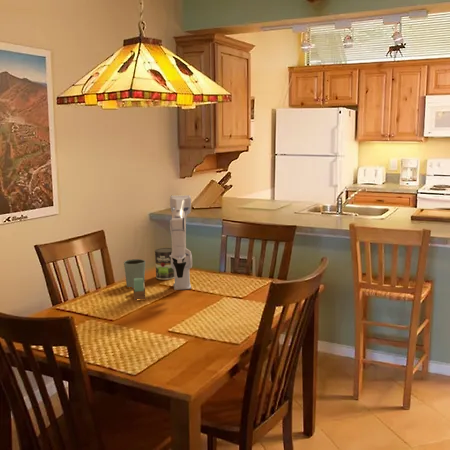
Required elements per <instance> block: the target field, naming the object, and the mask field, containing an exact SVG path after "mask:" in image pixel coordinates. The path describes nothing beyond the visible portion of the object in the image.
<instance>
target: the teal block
mask: <svg viewBox="0 0 450 450" xmlns="http://www.w3.org/2000/svg"><path fill="white" fill-rule="evenodd" d="M138 291H144V283H143V278H134V288H133V293H134V292H138Z"/></svg>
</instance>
